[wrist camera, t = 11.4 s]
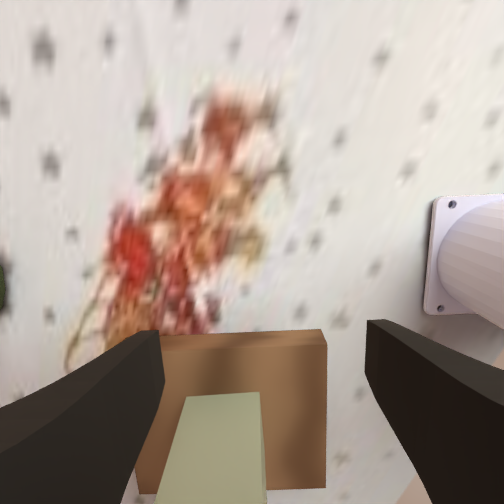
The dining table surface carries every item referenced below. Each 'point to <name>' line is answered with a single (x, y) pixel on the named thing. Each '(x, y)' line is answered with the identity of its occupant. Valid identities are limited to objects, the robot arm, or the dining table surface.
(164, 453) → the walnut base
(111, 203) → the dining table surface
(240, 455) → the sage block
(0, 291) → the beige green trophy cup
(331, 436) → the dining table surface
